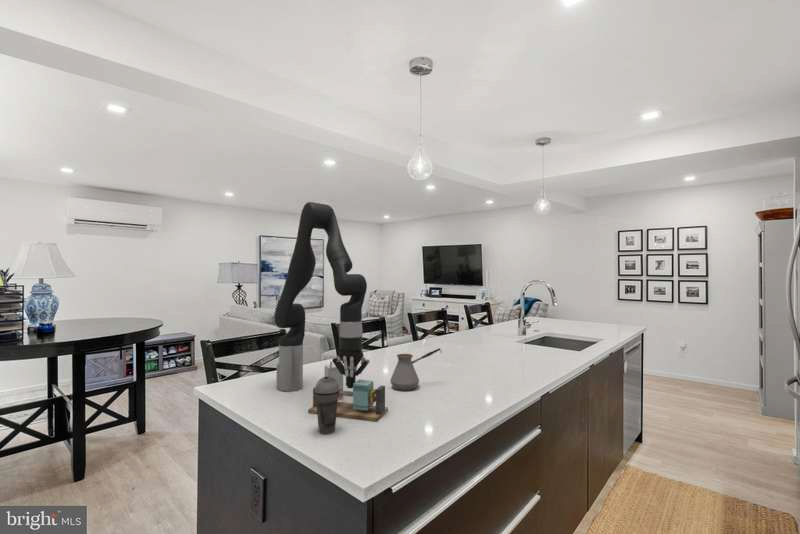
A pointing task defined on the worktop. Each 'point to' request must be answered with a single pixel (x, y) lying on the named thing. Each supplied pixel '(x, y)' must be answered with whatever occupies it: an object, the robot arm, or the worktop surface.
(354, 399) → the sleeve
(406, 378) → the coffee pot
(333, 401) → the beverage cup
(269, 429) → the worktop surface
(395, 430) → the worktop surface
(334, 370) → the skincare box
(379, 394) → the rail stand
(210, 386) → the worktop surface
